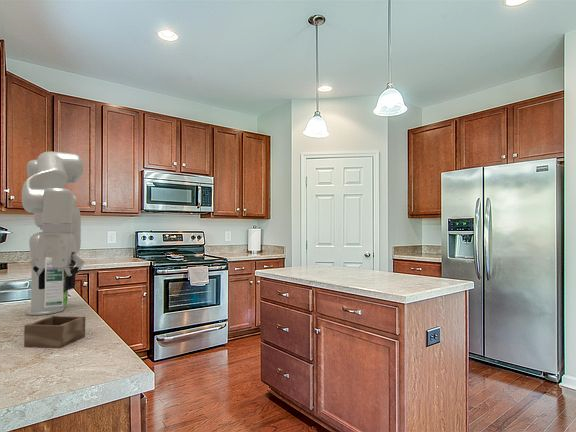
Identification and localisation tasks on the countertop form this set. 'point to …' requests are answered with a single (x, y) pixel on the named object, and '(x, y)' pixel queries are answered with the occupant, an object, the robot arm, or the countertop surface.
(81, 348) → the countertop surface
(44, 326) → the walnut holder
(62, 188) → the robot arm
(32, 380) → the countertop surface
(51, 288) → the syrup box
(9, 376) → the countertop surface
